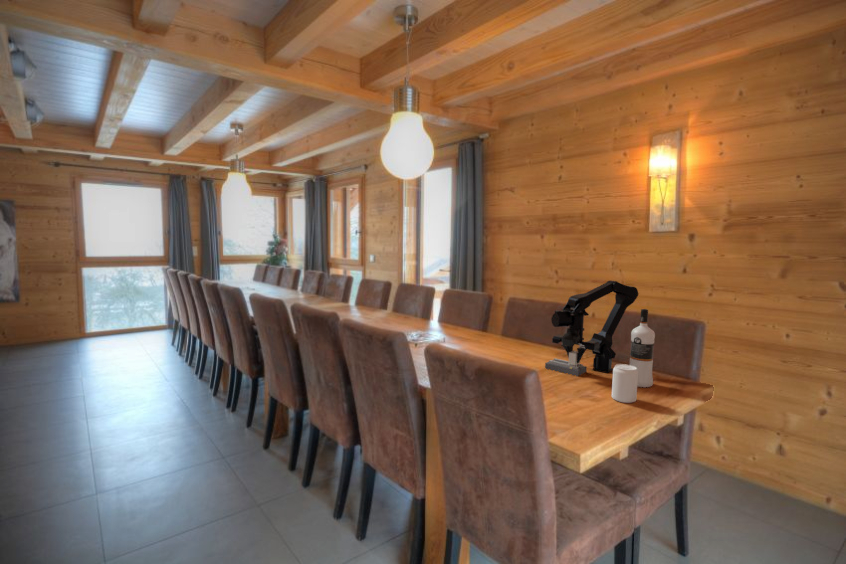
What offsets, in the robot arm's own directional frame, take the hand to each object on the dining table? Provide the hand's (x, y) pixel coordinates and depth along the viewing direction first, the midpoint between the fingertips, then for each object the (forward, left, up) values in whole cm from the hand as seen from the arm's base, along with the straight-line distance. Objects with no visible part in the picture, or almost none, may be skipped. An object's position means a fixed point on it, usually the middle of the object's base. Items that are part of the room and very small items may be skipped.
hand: (574, 362), depth 191 cm
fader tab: (0, 0, -2) cm, 2 cm away
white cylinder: (-27, +18, -5) cm, 33 cm away
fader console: (+4, 0, -4) cm, 6 cm away
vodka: (-25, -4, -5) cm, 26 cm away
